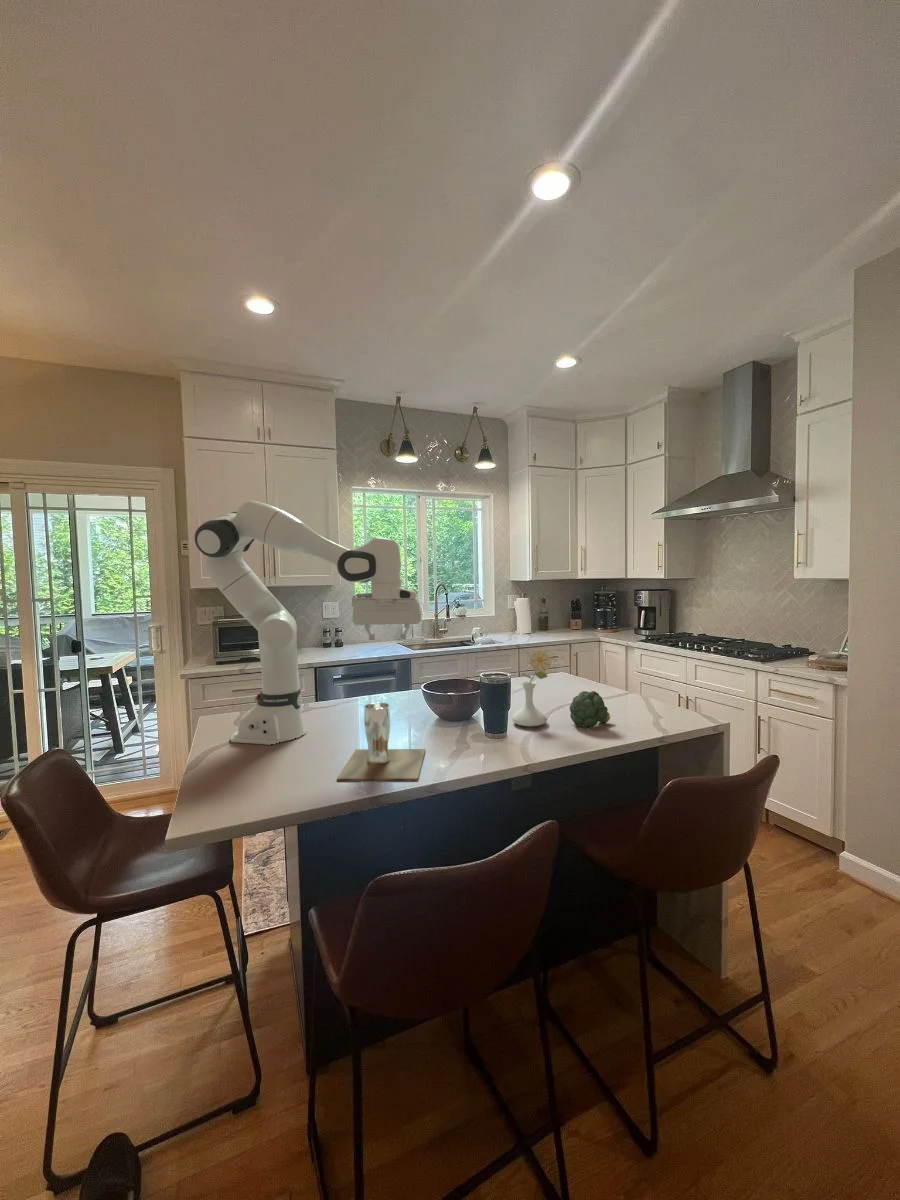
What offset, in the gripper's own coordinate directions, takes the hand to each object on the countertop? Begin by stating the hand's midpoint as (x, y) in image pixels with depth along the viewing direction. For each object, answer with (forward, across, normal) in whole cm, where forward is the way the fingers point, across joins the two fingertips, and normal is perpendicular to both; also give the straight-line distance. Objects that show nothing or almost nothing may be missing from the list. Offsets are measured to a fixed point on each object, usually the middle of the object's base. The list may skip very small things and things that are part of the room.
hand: (387, 639), depth 146 cm
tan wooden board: (+31, +1, -17) cm, 35 cm away
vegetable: (+31, +63, +15) cm, 72 cm away
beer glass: (+31, -1, -16) cm, 34 cm away
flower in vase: (+31, +44, +17) cm, 57 cm away
